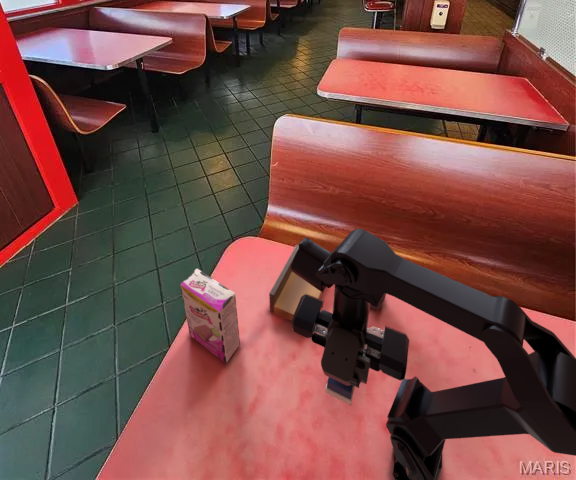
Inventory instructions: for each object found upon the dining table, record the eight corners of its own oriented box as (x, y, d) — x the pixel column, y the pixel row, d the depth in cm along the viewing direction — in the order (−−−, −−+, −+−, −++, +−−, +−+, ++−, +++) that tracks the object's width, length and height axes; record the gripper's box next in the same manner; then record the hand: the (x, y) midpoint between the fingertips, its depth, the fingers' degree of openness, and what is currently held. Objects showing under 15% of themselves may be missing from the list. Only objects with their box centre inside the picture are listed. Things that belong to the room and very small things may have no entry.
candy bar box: (188, 337, 73) (178, 284, 67) (204, 318, 77) (196, 266, 71) (225, 367, 68) (218, 312, 62) (241, 345, 72) (236, 291, 66)
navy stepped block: (341, 335, 64) (342, 317, 62) (363, 345, 62) (366, 326, 60) (325, 392, 55) (326, 373, 53) (350, 405, 53) (353, 386, 52)
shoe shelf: (330, 273, 88) (331, 256, 86) (308, 329, 75) (309, 310, 72) (296, 260, 92) (296, 244, 90) (269, 311, 79) (269, 293, 76)
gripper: (277, 325, 49) (278, 387, 55) (408, 385, 42) (394, 449, 48) (304, 267, 59) (303, 325, 64) (415, 308, 52) (402, 369, 57)
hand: (345, 363), depth 58 cm, fingers closed on navy stepped block, 4 cm apart
